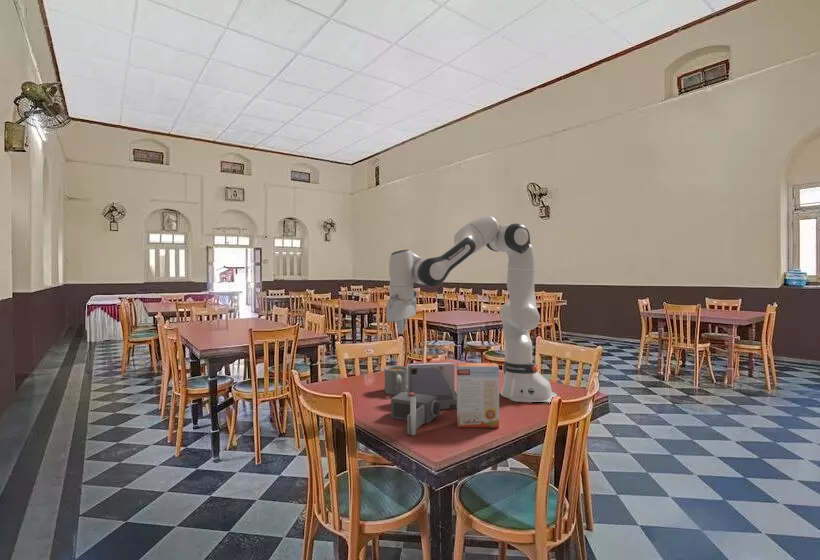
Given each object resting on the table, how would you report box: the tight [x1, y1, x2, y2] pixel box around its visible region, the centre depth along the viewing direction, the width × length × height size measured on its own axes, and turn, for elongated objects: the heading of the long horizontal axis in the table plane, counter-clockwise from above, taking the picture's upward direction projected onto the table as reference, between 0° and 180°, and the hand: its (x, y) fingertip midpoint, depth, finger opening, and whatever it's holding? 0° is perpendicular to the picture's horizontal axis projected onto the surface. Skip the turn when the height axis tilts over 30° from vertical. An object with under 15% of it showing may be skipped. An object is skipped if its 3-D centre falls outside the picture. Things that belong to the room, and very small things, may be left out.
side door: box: [406, 397, 425, 436], centre depth 145 cm, size 12×3×12 cm, turn 154°
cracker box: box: [456, 362, 500, 429], centre depth 149 cm, size 14×6×21 cm, turn 86°
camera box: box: [390, 392, 441, 424], centre depth 157 cm, size 16×9×8 cm, turn 67°
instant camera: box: [406, 362, 457, 410], centre depth 174 cm, size 21×21×15 cm
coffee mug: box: [384, 365, 408, 395], centre depth 188 cm, size 13×10×10 cm
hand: (402, 331), depth 162 cm, fingers closed
